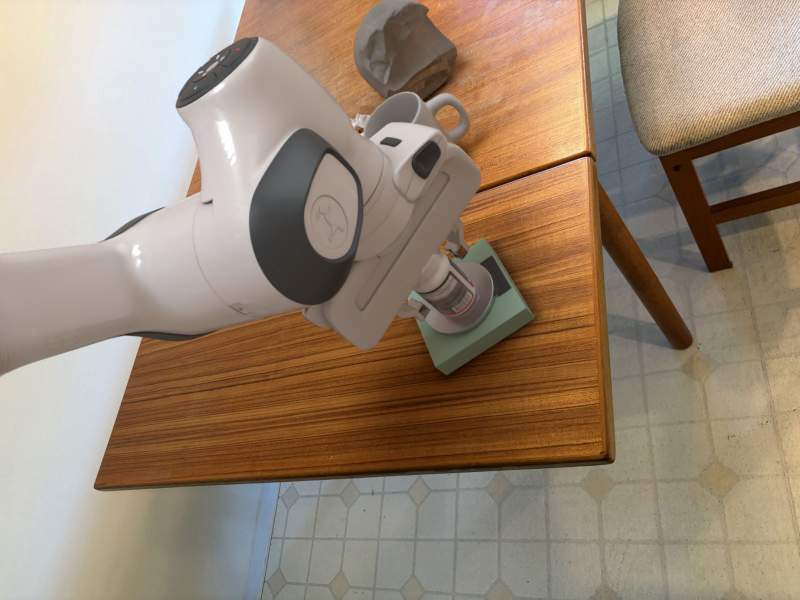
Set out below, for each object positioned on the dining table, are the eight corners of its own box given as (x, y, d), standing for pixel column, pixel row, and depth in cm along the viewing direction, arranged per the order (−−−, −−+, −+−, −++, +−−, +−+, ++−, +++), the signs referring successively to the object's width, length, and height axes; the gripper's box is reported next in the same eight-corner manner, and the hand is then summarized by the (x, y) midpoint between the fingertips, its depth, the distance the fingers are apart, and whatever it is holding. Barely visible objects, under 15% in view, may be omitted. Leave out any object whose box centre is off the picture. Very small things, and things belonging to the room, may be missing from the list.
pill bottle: (438, 282, 61) (396, 243, 55) (477, 273, 58) (437, 231, 52) (435, 321, 59) (390, 284, 53) (476, 313, 56) (433, 273, 50)
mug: (420, 212, 73) (370, 160, 65) (403, 175, 78) (355, 123, 70) (497, 156, 69) (455, 93, 62) (474, 121, 75) (432, 60, 67)
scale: (446, 375, 59) (434, 366, 57) (415, 302, 66) (403, 292, 64) (535, 318, 56) (525, 307, 54) (492, 248, 63) (482, 236, 61)
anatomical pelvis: (323, 149, 86) (336, 113, 88) (341, 164, 89) (353, 128, 91) (361, 142, 81) (373, 103, 83) (378, 158, 84) (390, 120, 86)
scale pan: (440, 350, 57) (437, 348, 57) (416, 293, 63) (413, 291, 62) (508, 304, 55) (506, 302, 55) (477, 250, 61) (474, 247, 60)
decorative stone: (418, 43, 92) (364, -36, 81) (479, 67, 80) (424, -22, 69) (369, 98, 93) (309, 27, 82) (421, 130, 81) (359, 51, 70)
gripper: (310, 323, 43) (407, 384, 53) (450, 114, 46) (518, 209, 55) (272, 297, 48) (367, 357, 58) (401, 107, 50) (472, 196, 60)
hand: (442, 283), depth 56 cm, fingers open, 6 cm apart
